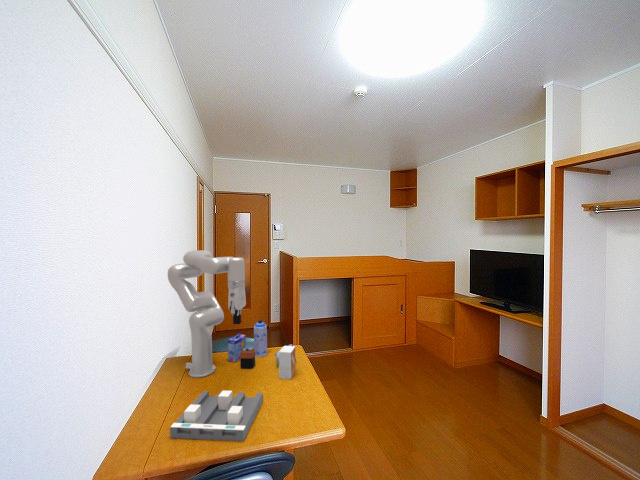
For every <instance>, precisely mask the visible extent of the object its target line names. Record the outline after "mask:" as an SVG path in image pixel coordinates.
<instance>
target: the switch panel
mask: <svg viewBox="0 0 640 480" xmlns="http://www.w3.org/2000/svg"><path fill="white" fill-rule="evenodd" d="M221 392H222V391H219V392H218V394H217V395H210V391H209V390H208V391H206V390H203V391H202V392H201V393H200V394H199V396H197V398H196V399H194V400H193V402H192V403H191V404H193V405H201V416H200V418H199V419H198V420H197V421H196V423H195V424H192V423H184V412H183V413H182V414H181V415H180V416H179V417H178V418H177V419H176V421H175V422H173V423H172V425H170V426H169V427H170V428H169V438H170V439H187V440H188V439H189V440H206V441H207V440H210V441H227V440H228V441H232V442H245V439H246V437H247V435H248V433H249V431H250V429H251V427H252V425H253V422H254V420H255V418H257V417H256V416H257V415H258V412H259V410H260V408H261V407H262V404H263V402H264V393H263V392H256V394H255V395H254V396H253V397H252V396H250V397H249V396H248V397H247V396H246V392H244V391H243V392H242V391H241V392H239V391H238V392H237V394H236V395H235V396H232V403H231V404H230V406H229V407H228V409H227V410H218V396H219V395H220V393H221ZM232 406H243V419H242V421H241V423H240V424H239V425H228V414H227V413H228V411H229V410H230V408H231V407H232Z"/></svg>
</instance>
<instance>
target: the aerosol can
mask: <svg viewBox="0 0 640 480" xmlns="http://www.w3.org/2000/svg"><path fill="white" fill-rule="evenodd" d="M267 328H268V327H267V324H266V323H265V322H264V321H263V320H261V319H259V320H258V321H257V322H256V323H255V324H254V326H253V349H255V358H262V357H266V356H267V355H268V330H267Z"/></svg>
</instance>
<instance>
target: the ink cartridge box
mask: <svg viewBox="0 0 640 480" xmlns="http://www.w3.org/2000/svg"><path fill="white" fill-rule="evenodd" d="M246 338H247V337H246V334H241V332H238V333H237V334H236V335H233V336H232V337H230V338H228V339H227V361H228V362H231V363H237V362H238V361H239V360H240V352H241V351H242V349H243V348H246V347H247V346H246V343H247V342H246Z"/></svg>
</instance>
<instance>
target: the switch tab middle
mask: <svg viewBox="0 0 640 480" xmlns="http://www.w3.org/2000/svg"><path fill="white" fill-rule="evenodd" d="M220 392H221V393H220ZM220 392H219V393H220V395H219V396H218V410H227V409H228V407H229V406H230V404H231V403H232V397H233V390H223V389H222V391H220Z"/></svg>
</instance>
